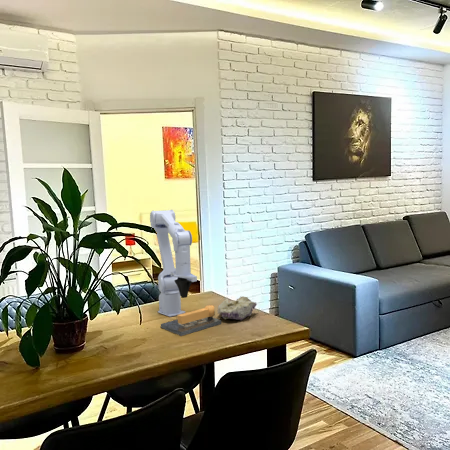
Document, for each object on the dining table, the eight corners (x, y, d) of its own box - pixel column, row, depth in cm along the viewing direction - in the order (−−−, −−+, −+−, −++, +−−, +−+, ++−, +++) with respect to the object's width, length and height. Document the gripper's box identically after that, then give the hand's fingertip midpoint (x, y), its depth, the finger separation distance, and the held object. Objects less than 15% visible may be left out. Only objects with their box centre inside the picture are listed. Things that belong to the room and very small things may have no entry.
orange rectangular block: (210, 313, 183) (210, 304, 183) (216, 315, 180) (216, 306, 180) (176, 322, 172) (176, 313, 172) (182, 324, 170) (182, 315, 169)
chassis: (160, 327, 175) (160, 322, 174) (200, 316, 187) (200, 311, 187) (181, 336, 165) (180, 330, 165) (221, 324, 177) (221, 318, 177)
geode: (215, 333, 182) (250, 330, 177) (207, 314, 179) (242, 310, 173) (227, 307, 197) (259, 304, 191) (220, 289, 193) (253, 285, 187)
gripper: (163, 261, 179) (164, 296, 181) (185, 266, 168) (187, 302, 170) (178, 259, 184) (179, 292, 185) (200, 263, 173) (202, 299, 174)
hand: (184, 297), depth 178 cm, fingers closed
